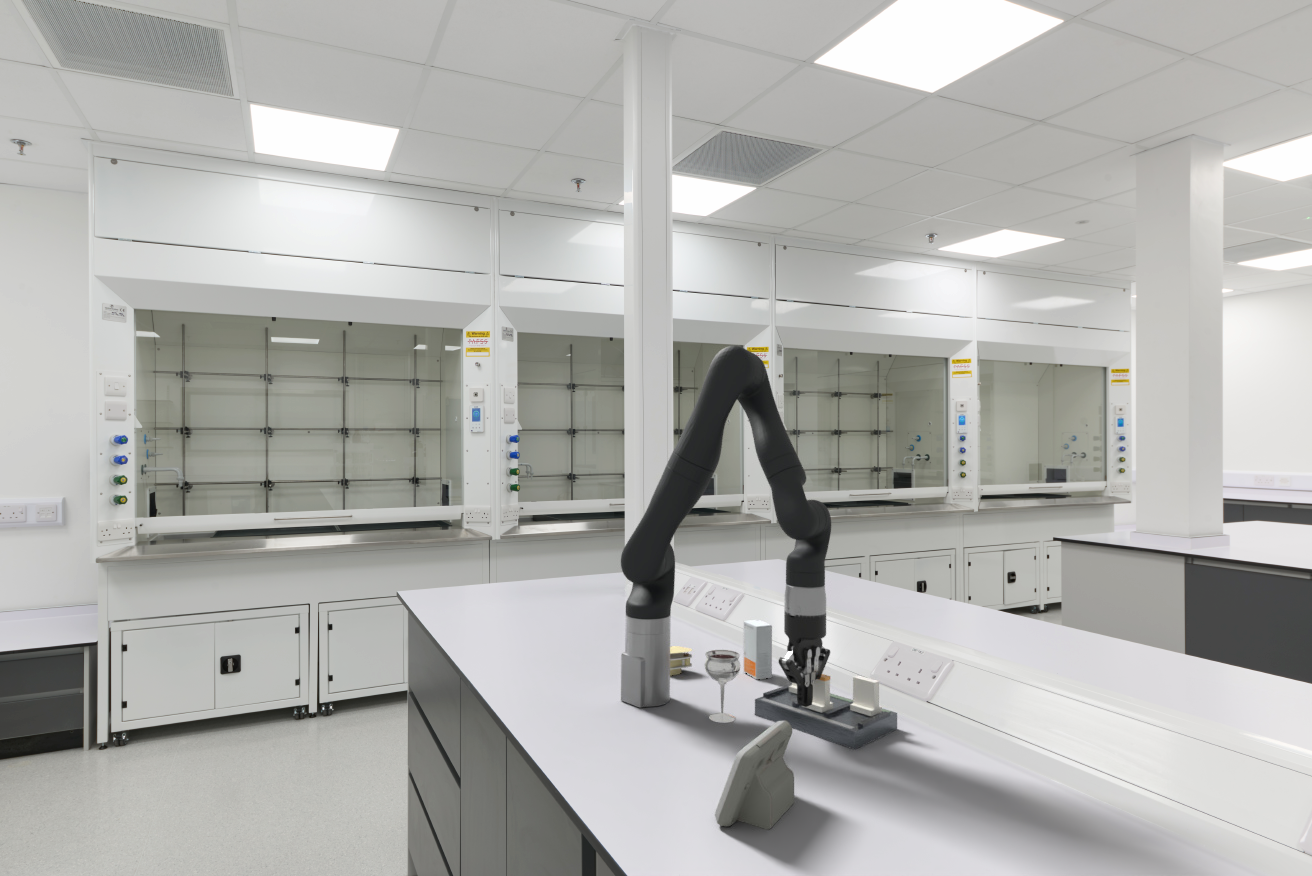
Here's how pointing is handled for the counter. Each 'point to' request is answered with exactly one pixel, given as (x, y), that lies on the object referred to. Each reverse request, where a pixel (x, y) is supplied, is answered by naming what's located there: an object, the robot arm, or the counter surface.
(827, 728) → the breaker panel
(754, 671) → the skincare box
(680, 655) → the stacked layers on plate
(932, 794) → the counter surface
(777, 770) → the digital clock
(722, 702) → the wineglass
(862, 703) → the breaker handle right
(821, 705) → the breaker handle
